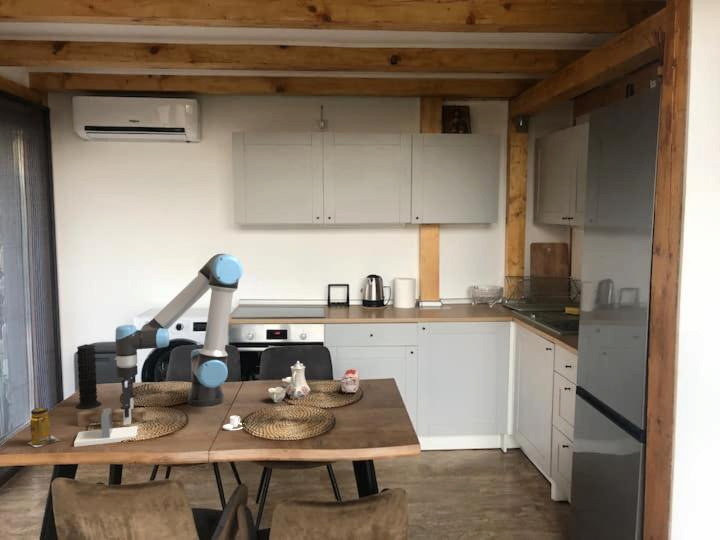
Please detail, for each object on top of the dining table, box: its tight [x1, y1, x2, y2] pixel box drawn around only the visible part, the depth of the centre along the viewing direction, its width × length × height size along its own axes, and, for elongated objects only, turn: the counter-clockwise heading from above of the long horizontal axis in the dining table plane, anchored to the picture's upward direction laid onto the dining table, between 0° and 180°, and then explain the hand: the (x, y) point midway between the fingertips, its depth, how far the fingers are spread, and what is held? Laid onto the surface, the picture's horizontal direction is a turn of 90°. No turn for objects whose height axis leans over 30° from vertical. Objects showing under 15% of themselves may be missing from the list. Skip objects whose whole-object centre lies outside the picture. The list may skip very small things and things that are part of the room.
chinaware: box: [267, 360, 312, 404], centre depth 259 cm, size 28×17×17 cm, turn 172°
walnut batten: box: [77, 407, 147, 427], centre depth 225 cm, size 24×4×5 cm, turn 96°
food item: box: [340, 368, 360, 393], centre depth 267 cm, size 14×8×10 cm, turn 177°
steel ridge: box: [100, 407, 113, 439], centre depth 209 cm, size 2×9×8 cm, turn 18°
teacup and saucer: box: [222, 415, 244, 431], centre depth 220 cm, size 9×8×4 cm
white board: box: [73, 425, 139, 448], centre depth 209 cm, size 20×11×2 cm, turn 107°
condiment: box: [27, 407, 60, 448], centre depth 205 cm, size 7×8×12 cm
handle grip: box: [75, 343, 102, 410], centre depth 246 cm, size 10×26×10 cm
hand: (128, 419), depth 227 cm, fingers open, 12 cm apart
